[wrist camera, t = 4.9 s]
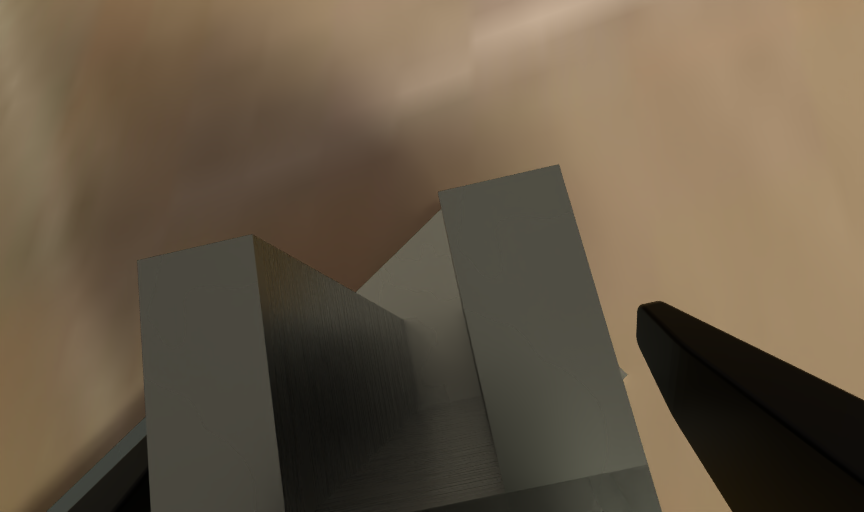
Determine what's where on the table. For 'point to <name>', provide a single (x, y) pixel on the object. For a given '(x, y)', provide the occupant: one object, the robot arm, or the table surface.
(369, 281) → the grey square plate
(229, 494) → the grey clip
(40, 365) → the table surface
